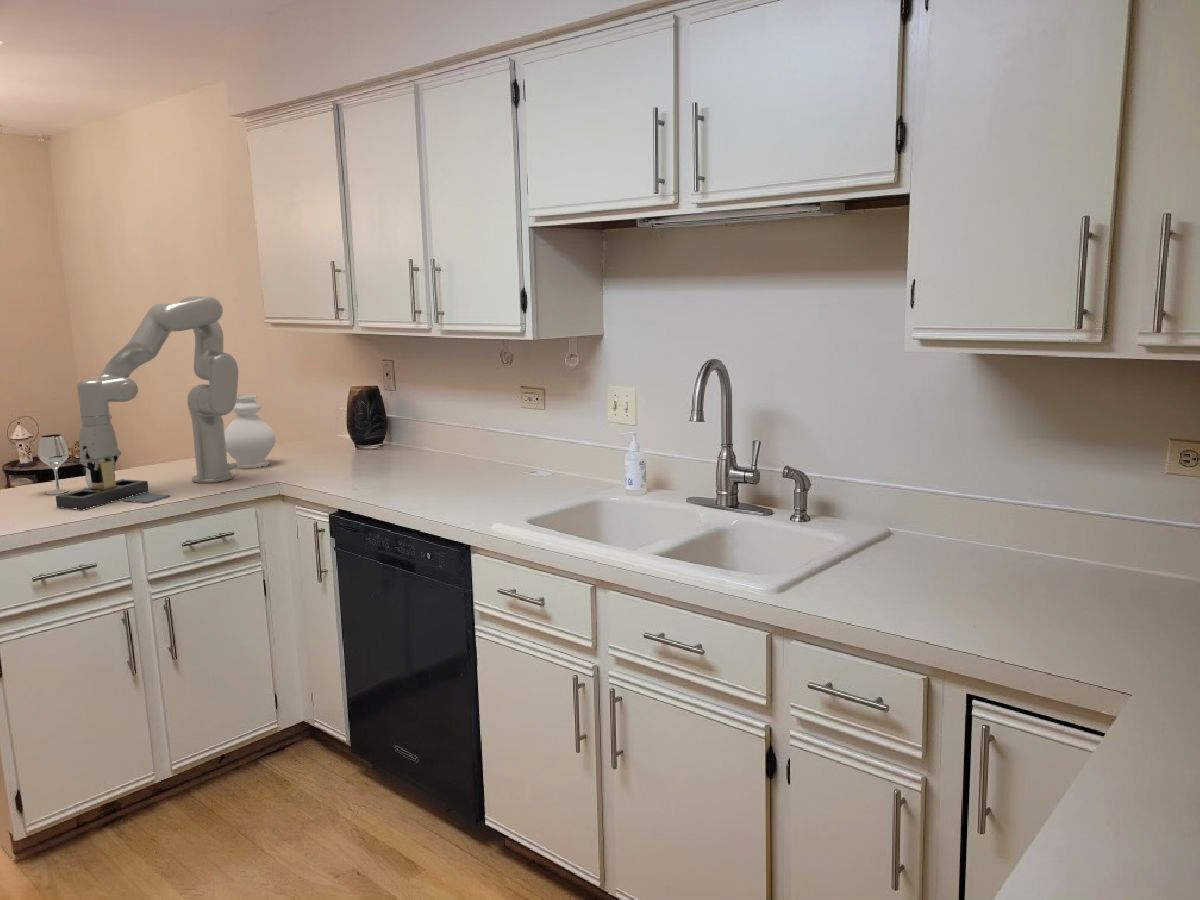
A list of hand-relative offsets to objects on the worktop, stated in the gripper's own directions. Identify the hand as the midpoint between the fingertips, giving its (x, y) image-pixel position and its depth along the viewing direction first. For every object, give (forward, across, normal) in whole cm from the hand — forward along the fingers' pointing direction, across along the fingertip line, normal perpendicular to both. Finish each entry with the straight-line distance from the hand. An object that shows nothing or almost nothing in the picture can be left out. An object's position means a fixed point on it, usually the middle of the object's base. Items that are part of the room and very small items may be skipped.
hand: (103, 480), depth 267 cm
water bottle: (+6, -13, -16) cm, 21 cm away
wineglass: (+6, -4, -23) cm, 24 cm away
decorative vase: (+7, -57, +7) cm, 57 cm away
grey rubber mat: (+6, -4, +12) cm, 14 cm away
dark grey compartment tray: (+6, 0, 0) cm, 6 cm away
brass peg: (+4, 0, 0) cm, 4 cm away
